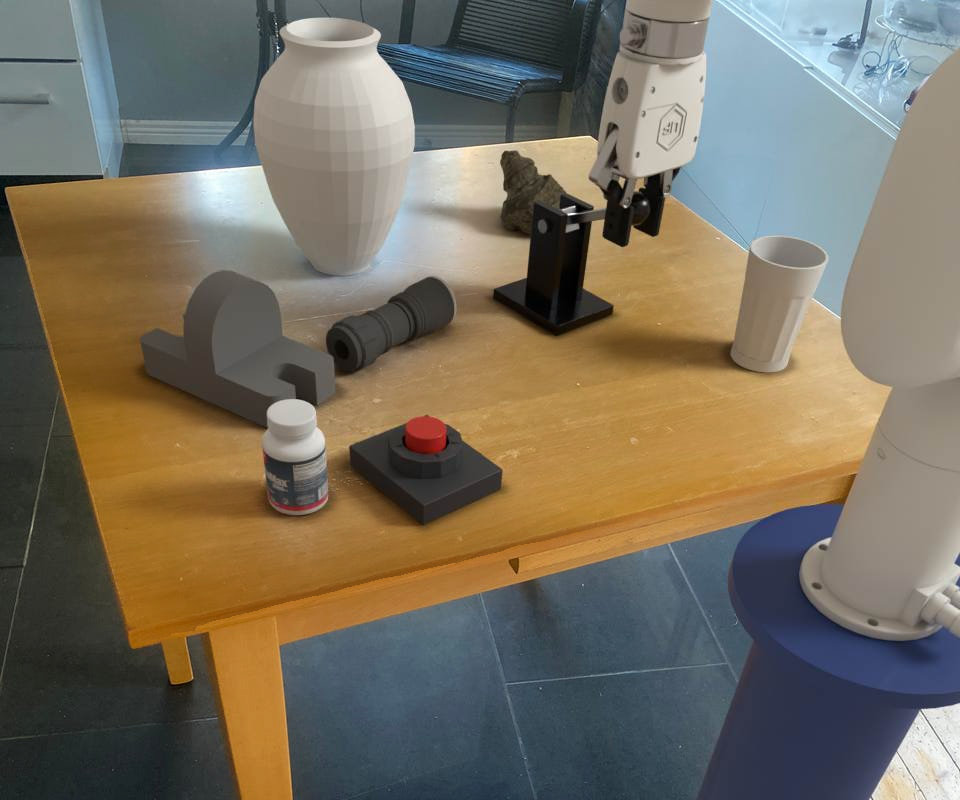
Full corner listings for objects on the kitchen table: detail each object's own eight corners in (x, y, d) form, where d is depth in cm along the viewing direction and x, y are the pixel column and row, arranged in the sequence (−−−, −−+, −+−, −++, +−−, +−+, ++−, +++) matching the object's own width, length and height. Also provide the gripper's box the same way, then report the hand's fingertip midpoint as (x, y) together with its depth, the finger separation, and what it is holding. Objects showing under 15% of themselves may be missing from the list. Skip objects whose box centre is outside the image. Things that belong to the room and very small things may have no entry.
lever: (659, 220, 100) (654, 186, 99) (638, 227, 98) (633, 192, 97) (566, 234, 111) (561, 203, 109) (545, 240, 109) (540, 209, 108)
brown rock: (529, 151, 134) (471, 163, 129) (585, 123, 124) (524, 134, 119) (550, 238, 137) (494, 252, 132) (606, 216, 127) (548, 231, 123)
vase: (442, 274, 119) (448, 41, 102) (314, 309, 111) (298, 62, 94) (363, 222, 129) (357, 1, 111) (241, 251, 121) (213, 17, 103)
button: (454, 446, 87) (454, 429, 86) (422, 460, 85) (422, 443, 84) (429, 428, 89) (429, 411, 88) (397, 441, 87) (397, 424, 86)
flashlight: (359, 383, 101) (357, 334, 97) (322, 364, 103) (318, 316, 99) (456, 331, 109) (457, 285, 106) (419, 315, 112) (420, 269, 108)
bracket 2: (612, 314, 114) (628, 212, 106) (556, 336, 110) (569, 231, 102) (548, 279, 120) (559, 179, 112) (492, 298, 116) (499, 195, 107)
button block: (501, 489, 89) (504, 452, 86) (423, 525, 85) (423, 488, 82) (426, 434, 95) (427, 397, 92) (349, 465, 90) (348, 428, 88)
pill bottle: (258, 492, 87) (247, 404, 81) (310, 474, 89) (303, 387, 83) (285, 524, 84) (276, 435, 78) (339, 505, 86) (334, 417, 80)
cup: (741, 378, 106) (770, 270, 97) (711, 342, 111) (737, 237, 103) (807, 373, 107) (842, 266, 99) (775, 337, 113) (806, 233, 104)
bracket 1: (208, 335, 106) (193, 235, 98) (340, 390, 100) (335, 288, 92) (141, 371, 100) (119, 268, 92) (277, 432, 94) (266, 326, 86)
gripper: (630, 59, 83) (599, 270, 96) (753, 34, 91) (709, 231, 104) (568, 36, 87) (547, 242, 100) (692, 14, 95) (657, 207, 108)
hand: (630, 235), depth 102 cm, fingers open, 3 cm apart
